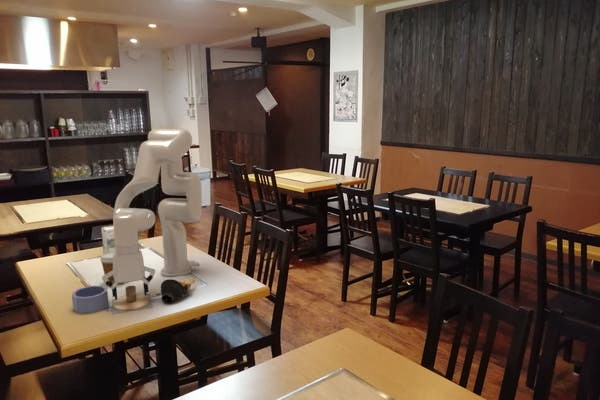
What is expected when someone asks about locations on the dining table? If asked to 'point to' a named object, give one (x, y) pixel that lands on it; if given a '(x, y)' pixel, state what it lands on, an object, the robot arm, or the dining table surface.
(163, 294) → the black dish with food
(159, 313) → the dining table surface
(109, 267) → the disposable coffee cup
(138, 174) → the robot arm
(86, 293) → the bowl
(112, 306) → the mat
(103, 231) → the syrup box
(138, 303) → the lid
